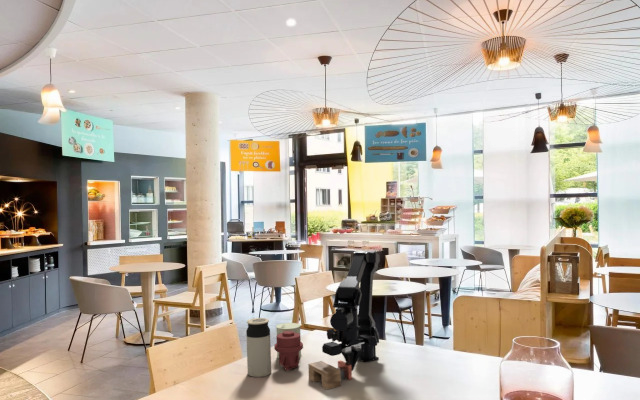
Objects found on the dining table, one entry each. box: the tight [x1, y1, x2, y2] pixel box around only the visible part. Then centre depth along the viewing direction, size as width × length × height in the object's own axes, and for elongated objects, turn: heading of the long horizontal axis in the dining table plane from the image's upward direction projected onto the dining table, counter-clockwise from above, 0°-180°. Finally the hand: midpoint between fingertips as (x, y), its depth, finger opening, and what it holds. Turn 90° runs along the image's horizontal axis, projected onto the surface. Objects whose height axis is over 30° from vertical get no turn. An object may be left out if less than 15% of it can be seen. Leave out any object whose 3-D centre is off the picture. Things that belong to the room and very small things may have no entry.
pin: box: [336, 359, 353, 381], centre depth 160 cm, size 8×6×5 cm
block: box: [307, 360, 342, 390], centre depth 158 cm, size 5×11×5 cm, turn 32°
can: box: [275, 322, 302, 360], centre depth 185 cm, size 9×9×12 cm
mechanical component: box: [273, 331, 304, 372], centre depth 173 cm, size 12×10×10 cm
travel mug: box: [246, 317, 272, 378], centre depth 168 cm, size 8×8×18 cm
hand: (351, 370), depth 163 cm, fingers closed
